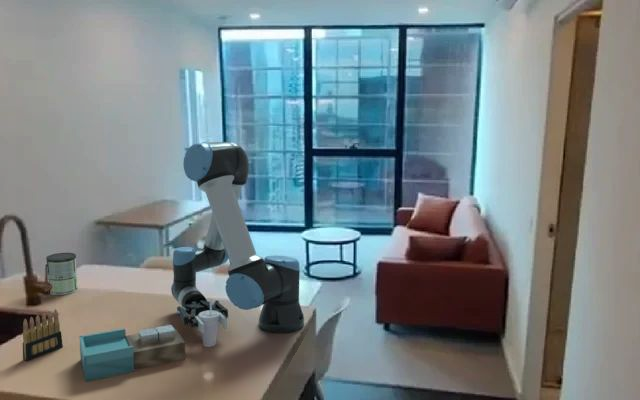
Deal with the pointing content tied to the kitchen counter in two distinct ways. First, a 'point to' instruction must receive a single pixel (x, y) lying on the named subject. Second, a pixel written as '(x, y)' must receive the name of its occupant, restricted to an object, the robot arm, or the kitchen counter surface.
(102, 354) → the tray
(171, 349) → the olive-brown boxy piece
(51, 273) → the coffee can
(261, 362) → the kitchen counter surface
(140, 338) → the chip
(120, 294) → the kitchen counter surface
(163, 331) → the chip
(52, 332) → the ammunition clip
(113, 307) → the kitchen counter surface
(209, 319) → the smoothie
